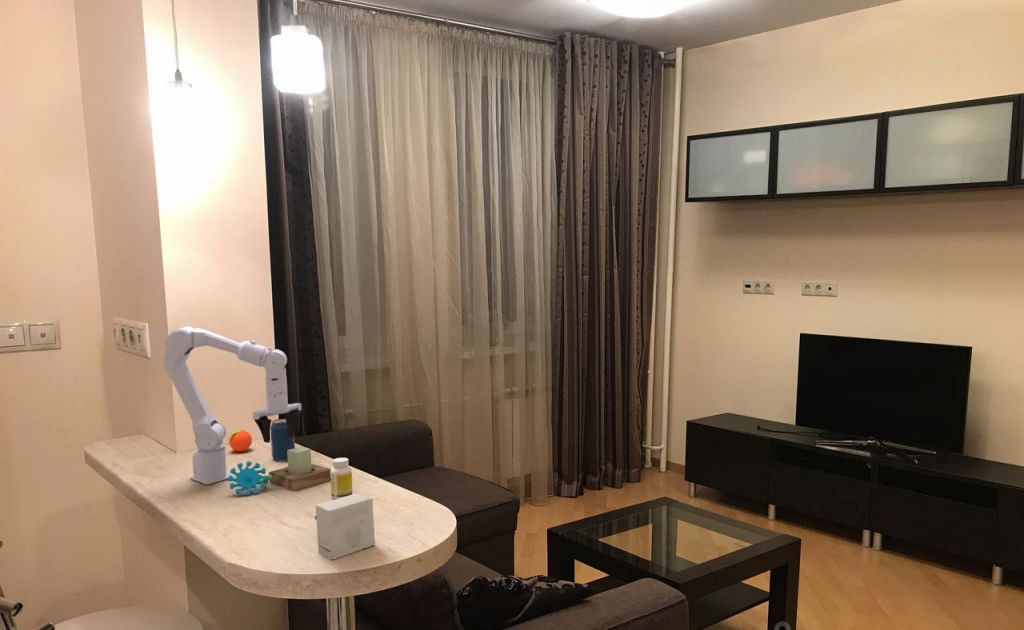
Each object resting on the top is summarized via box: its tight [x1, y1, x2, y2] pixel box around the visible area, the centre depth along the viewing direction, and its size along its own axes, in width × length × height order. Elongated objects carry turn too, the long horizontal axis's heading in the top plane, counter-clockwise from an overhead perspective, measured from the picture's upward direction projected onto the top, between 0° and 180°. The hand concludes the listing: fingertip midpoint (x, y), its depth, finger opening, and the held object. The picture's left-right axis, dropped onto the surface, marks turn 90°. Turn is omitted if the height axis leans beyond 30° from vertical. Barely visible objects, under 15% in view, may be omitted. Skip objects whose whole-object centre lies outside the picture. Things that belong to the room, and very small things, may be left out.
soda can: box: [270, 418, 296, 462], centre depth 218 cm, size 7×7×12 cm
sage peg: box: [287, 446, 312, 475], centre depth 196 cm, size 4×4×9 cm
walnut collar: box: [268, 462, 332, 492], centre depth 196 cm, size 12×12×3 cm
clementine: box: [227, 429, 253, 453], centre depth 227 cm, size 8×7×7 cm
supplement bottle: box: [330, 457, 353, 500], centre depth 182 cm, size 5×5×10 cm
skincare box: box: [315, 492, 376, 561], centre depth 149 cm, size 10×6×10 cm, turn 133°
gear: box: [227, 460, 272, 497], centre depth 189 cm, size 11×6×10 cm
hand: (278, 439), depth 201 cm, fingers open, 7 cm apart
